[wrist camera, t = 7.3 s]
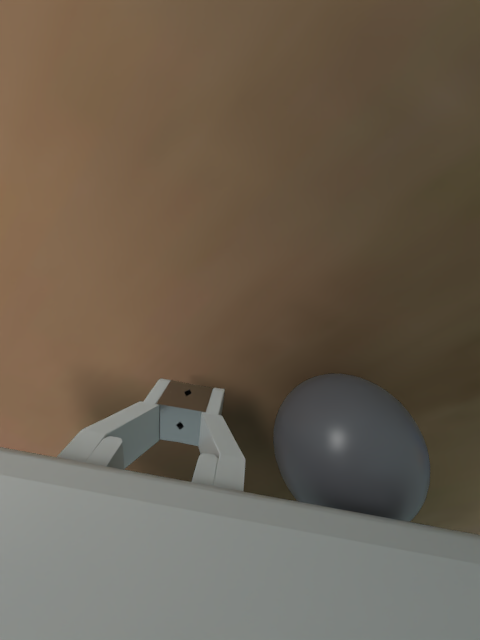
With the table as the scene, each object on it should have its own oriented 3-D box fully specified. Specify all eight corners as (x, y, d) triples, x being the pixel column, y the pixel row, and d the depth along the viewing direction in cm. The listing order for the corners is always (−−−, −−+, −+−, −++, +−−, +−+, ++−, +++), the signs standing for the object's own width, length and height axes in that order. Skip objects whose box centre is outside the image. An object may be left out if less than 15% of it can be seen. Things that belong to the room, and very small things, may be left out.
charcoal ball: (490, 626, 5) (454, 456, 9) (363, 402, 6) (384, 338, 10) (292, 565, 9) (332, 461, 13) (225, 429, 9) (284, 373, 13)
